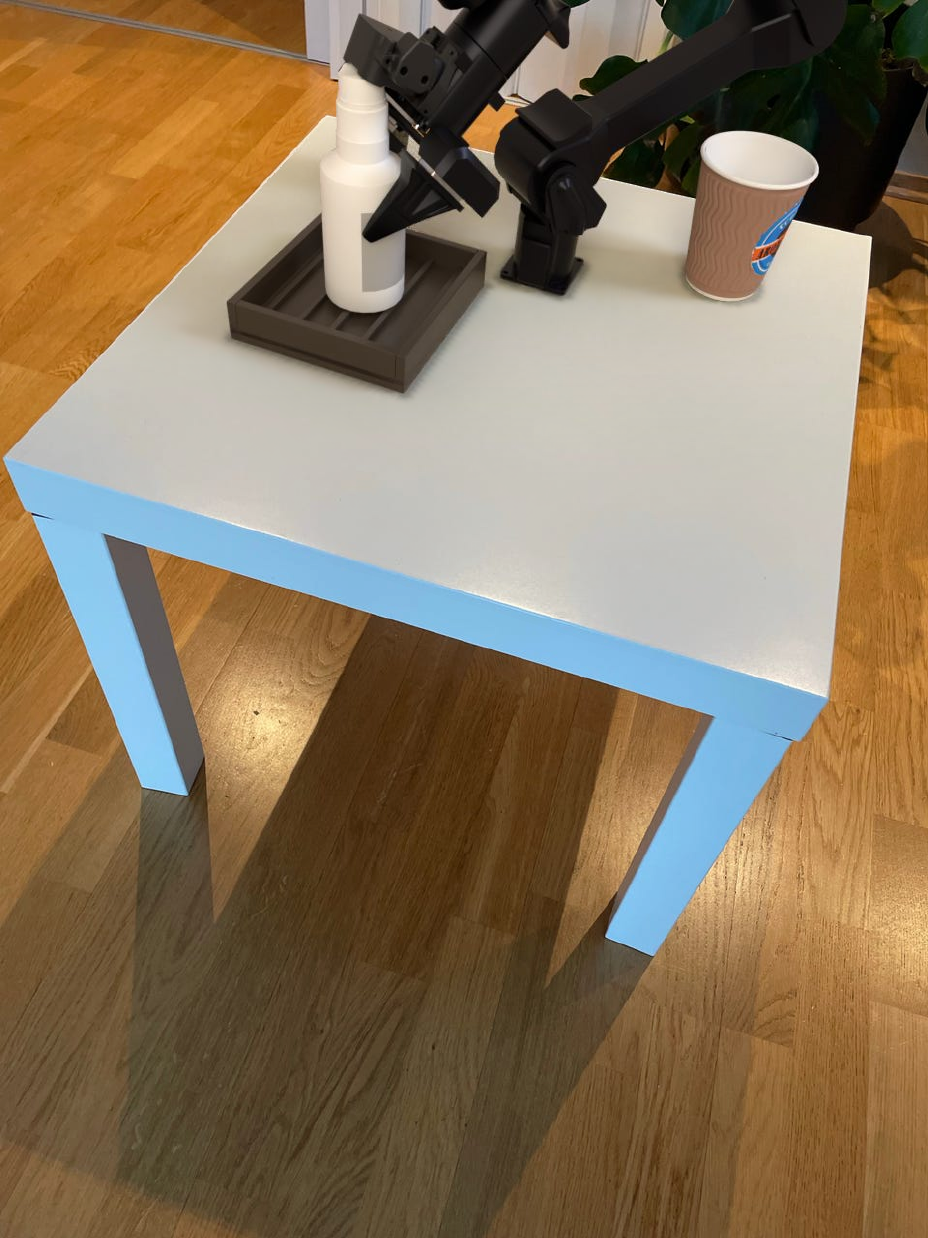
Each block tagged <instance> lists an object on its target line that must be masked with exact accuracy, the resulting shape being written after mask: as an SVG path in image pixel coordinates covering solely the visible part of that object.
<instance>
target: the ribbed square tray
mask: <svg viewBox="0 0 928 1238" xmlns="http://www.w3.org/2000/svg"><path fill="white" fill-rule="evenodd" d="M487 258H488V251H487V250H484V249H479V248H476V247H473V246H469V245H466V244H462V243H458V242H455V241H452V240H448V239H445V238H441V237H438V236H434V235H431V234H427V233H425V232H424V233H423V232H420V231H417V230H413V229H409V228H405V273H404V292H403V295H402V298H401V300H400V301H399V302H398V303H397V304H396V305H395V306H393V307H391V308H389V309H387V310H384V311H379V312H375V313H359V312H353V311H349V310H346V309H343V308H340V307H339V306H337V305H336V304H334V303H333V302H332V301H331V300H330V298H329V297H328V295H327V294H326V288H325V271H324V251H323V231H322V211H320V213H319V214H318V215H317V216H316V217H315V218H314V219H313V220H311V222H309V223H308V224H307V225H306V226H305V227H304V228H303V229H302V230H301V231H300V232H298V234H297V235H295V236H294V237H293V239H291V240H290V241H289V242H288V243H287V244H286V245H285V246H284V247H283V248H282V249H280V251H278V253H277V254H275V255H274V257H272V258H271V259H270V260H269V261H268V262H267V263H266V264H265V265H263V267H262V268H260V269H259V270H258V271H257V272H256V273H255V274H254V275H253V276H252V277H251V278H250V279H248V281H246V282H245V284H243V285H242V287H240V288H239V289H238V290H237V291H236V292H235V293H234V294H233V295H232V296H231V297H230V298H229V299H227V300H226V309H227V310H226V311H227V317H228V323H229V331H230V338H231V339H233V340H235V341H239V342H241V343H245V344H248V345H252V346H255V347H257V348H260V349H264V350H267V351H270V352H273V353H277V354H280V355H282V356H286V357H289V358H291V359H294V360H298V361H300V362H305V363H307V364H310V365H313V366H317V367H320V368H323V369H326V370H330V371H333V372H335V373H339V374H341V375H345V376H348V377H351V378H354V379H357V380H361V381H364V382H367V383H370V384H373V385H376V386H379V387H382V388H385V389H389V390H392V391H393V392H394V391H395V392H398V393H401V394H405V393H406V391H407V390H408V388H409V387H410V386H411V384H412V383H413V382H414V381H415V379H416V378H417V376H418V375H419V373H421V371H422V370H423V368H424V367H425V365H426V364H427V363H428V361H430V359H431V357H432V356H433V355H434V353H436V351H437V349H439V347H440V345H441V344H442V343H443V341H444V340H445V339H446V338H447V336H448V335H449V334H450V332H452V330H453V328H454V327H455V325H456V324H457V323H458V322H459V320H460V318H461V317H462V316H463V315H464V314H465V312H466V311H467V309H468V308H469V307H470V306H471V304H472V303H473V302H474V300H475V299H476V297H477V296H478V295H479V293H480V292H481V291H482V289H483V288H484V287H485V278H486V277H485V276H486V266H487Z"/></svg>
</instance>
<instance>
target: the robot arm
mask: <svg viewBox="0 0 928 1238" xmlns="http://www.w3.org/2000/svg"><path fill="white" fill-rule="evenodd" d="M436 1H437V2H438V3H439V4H440V6H441V7H442V8H443V9H444V10H448V11H459V10H460V11H459V12H458V13H457V15H456V16H455V17H454V19H453V20H452V22H450V24H449V25H448V26H447V28H446V29H445V30H444V32H442V30H440V29H439V28H438V27H437V26H435V25H433V26H432V27H427V28H426V30H424V32H423V33H422V35H421V36H420V37H417V36H416V35H414V34H413V33H412V32H411V31H407V32H403V31H401V30H399V29H397V28H395V27H393V26H390V25H388V24H386V23H384V22H382V21H380V20H378V19H375V18H373V17H370V16H368V15H366V14H364V13H359V12H358V14H357V17H356V19H355V22H354V25H353V28H352V31H351V34H350V36H349V40H348V43H347V45H346V48H345V51H344V53H343V57H342V59H343V61H344V63H346V62H347V63H351V64H352V65H353V66H354V67H355V68H356V69H357V73H358V75H359V76H360V77H361V78H363V79H364V80H366V81H367V82H369V83H371V84H373V85H375V86H378V87H380V88H382V87H384V86H385V94H386V100H387V101H388V131H389V150H390V151H392V152H394V153H396V154H398V153H400V152H401V151H402V152H401V168H400V175H399V177H398V179H397V180H396V182H395V183H394V185H393V186H392V188H391V189H390V191H389V192H388V193H387V195H386V196H385V198H384V199H383V201H382V202H381V204H380V205H379V206H378V208H377V209H376V211H375V212H374V214H373V215H372V217H371V218H370V220H369V221H368V223H367V225H366V227H365V228H364V230H363V232H362V236H363V237H364V238H365V239H366V240H367V241H368V242H370V243H374V242H376V241H378V240H380V239H382V238H385V237H387V236H389V235H391V234H394V233H396V232H398V231H400V230H402V229H405V228H406V229H408V228H409V227H411V226H414V225H415V224H418V223H421V222H423V221H425V220H429V219H431V218H435V217H437V216H440V215H443V214H445V213H449V212H451V211H454V210H456V211H457V212H458V213H461V212H463V211H464V210H465V206H463V204H462V203H461V201H462V200H463V201H464V202H465V204H467V206H469V207H470V208H471V209H472V210H473V211H474V212H475V213H476V214H477V215H478V216H479V217H480V218H481V219H484V217H485V216H486V215H487V214H488V212H489V211H490V210H491V209H492V208H493V207H494V205H495V204H496V203H497V202H498V201H499V199H500V191H501V181H500V180H499V179H498V178H497V176H495V175H494V174H493V172H491V170H490V169H488V167H487V166H486V165H485V164H484V163H483V162H482V161H481V160H480V159H479V158H478V156H477V155H476V154H475V153H474V152H473V151H472V150H471V149H470V148H469V147H470V146H471V144H470V143H468V141H467V140H466V139H465V138H464V137H463V136H464V135H465V133H466V132H467V131H468V130H469V129H470V128H471V126H472V125H473V124H474V123H475V121H477V119H478V118H479V116H480V115H481V114H482V113H483V112H484V111H485V109H486V108H487V107H488V105H489V107H491V108H492V109H493V110H494V111H495V112H496V113H498V112H499V111H500V109H502V107H503V106H504V105H505V104H506V102H507V100H506V99H505V98H504V97H503V96H502V95H501V94H500V91H501V90H502V89H503V87H504V86H505V85H506V83H508V81H509V80H510V78H511V77H512V76H513V75H514V74H515V72H516V71H517V70H518V68H520V66H521V65H522V64H523V63H524V61H526V59H527V58H528V56H529V55H530V54H531V53H532V52H533V50H534V49H535V48H536V47H537V45H538V44H539V43H540V42H541V41H542V39H543V38H544V37H546V38H547V39H548V40H549V41H551V42H553V43H554V44H555V45H556V46H558V47H559V48H560V49H562V50H566V49H568V47H569V45H570V37H571V36H570V33H571V32H570V16H571V13H572V7H571V6H570V5H568V4H567V3H566V2H564V1H563V0H436ZM847 7H848V0H732V1H731V4H730V5H729V7H728V8H727V11H726V13H725V14H724V15H723V16H721V17H720V18H718V19H716V20H714V21H713V22H712V23H710V24H708V25H707V26H705V27H703V28H702V29H700V30H698V31H697V32H695V33H694V34H692V35H690V36H689V37H687V38H685V39H684V40H682V41H680V42H679V43H677V44H675V45H674V46H672V47H671V48H669V49H667V50H666V51H664V52H663V53H661V54H659V55H657V56H656V57H654V58H653V59H651V60H649V61H648V62H646V63H645V64H643V65H641V66H639V67H638V68H636V69H635V70H633V71H631V72H630V73H628V74H627V75H624V76H623V77H621V78H620V79H618V80H616V81H615V82H613V83H612V84H610V85H608V86H607V87H605V88H603V89H602V90H600V91H599V92H597V93H595V94H593V95H592V96H591V97H589V98H586V99H583V100H577V101H576V100H575V101H574V100H573V99H572V98H571V97H569V95H567V94H566V93H564V92H563V91H562V90H561V89H559V87H554V88H552V89H549V90H548V91H546V92H545V93H543V94H542V95H541V96H540V97H539V98H537V99H536V100H535V101H534V102H532V103H530V104H528V105H525V106H522V107H516V108H515V109H514V113H515V114H516V116H515V117H513V118H512V119H511V120H509V121H507V123H505V125H504V126H503V127H502V128H501V129H500V131H499V137H498V140H497V141H496V144H495V147H494V152H493V162H494V168H495V169H496V171H497V174H498V175H499V176H500V177H501V178H502V179H503V180H504V182H505V187H506V190H507V193H509V194H510V195H513V196H514V197H515V198H516V199H517V200H518V201H519V202H520V204H519V211H518V221H517V227H516V236H515V243H514V252H513V253H512V255H511V256H510V257H509V259H508V260H507V262H506V263H505V264H504V266H503V267H502V268H501V269H500V271H499V277H500V279H502V280H505V281H510V282H513V283H515V284H520V285H523V286H526V287H529V288H533V289H536V290H540V291H544V292H547V293H551V294H554V295H557V296H565V295H566V294H567V292H568V291H569V289H570V287H571V286H572V284H573V282H574V281H575V279H576V278H577V276H578V275H579V273H580V272H581V270H582V269H583V267H584V264H585V263H584V262H585V260H584V259H583V258H581V257H578V256H576V253H577V247H578V242H579V237H580V236H583V235H584V233H585V232H586V231H587V230H591V229H595V228H597V227H598V226H599V224H600V222H601V219H602V218H603V216H604V214H605V212H606V209H607V208H608V204H607V202H606V201H605V200H604V199H603V197H602V196H601V195H600V194H599V193H598V191H597V190H596V189H595V188H594V187H595V186H596V185H597V184H598V182H599V180H600V179H601V177H602V175H603V173H604V171H605V170H606V168H607V166H608V164H609V162H610V160H611V158H612V157H613V156H614V155H615V154H616V153H618V152H619V151H621V150H623V149H624V148H626V147H628V146H629V145H631V144H633V143H635V142H636V141H637V140H639V139H641V138H642V137H644V136H645V135H647V134H649V133H651V132H652V131H653V130H656V129H657V128H659V127H660V126H662V125H664V124H665V123H667V122H669V121H671V120H672V119H673V118H675V117H677V116H678V115H680V114H682V113H684V112H685V111H687V110H688V109H690V108H691V107H693V106H695V105H696V104H698V103H700V102H701V101H703V100H706V98H708V97H710V96H711V95H713V94H714V93H716V92H718V91H719V90H722V88H724V87H726V86H728V85H729V84H730V83H732V82H734V81H735V80H737V79H739V78H741V77H743V76H744V75H745V74H747V73H750V72H753V71H760V70H771V69H782V68H789V67H792V66H794V65H797V64H799V63H801V62H804V61H806V60H809V59H811V58H813V57H816V56H818V55H820V54H821V53H822V52H824V51H825V50H826V49H828V48H829V47H830V46H831V45H832V44H833V43H834V42H835V41H836V38H837V37H838V35H839V34H840V33H841V30H842V28H843V26H844V24H845V21H846V16H847ZM344 63H343V64H342V65H341V66H340V68H339V69H338V70H337V72H338V73H339V71H340V70H341V68H342V66H343V65H344ZM395 129H396V130H397V131H398V132H402V131H406V132H407V133H408V135H409V138H411V140H413V141H414V142H415V143H416V144H417V145H418V146H419V147H418V151H417V152H418V153H417V156H419V157H420V159H419V160H418V159H416V158H415V157H414V156H413V155H412V154H411V153H410V152H409V151H408V149H407V150H406V149H405V148H406V146H405V145H404V144H403V143H402V142H401V141H400V140H399V139H398V138H397V137H396V136H395V135H394V134H393V132H394V131H395Z"/></svg>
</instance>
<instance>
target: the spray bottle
mask: <svg viewBox="0 0 928 1238" xmlns="http://www.w3.org/2000/svg"><path fill="white" fill-rule="evenodd" d="M343 64H344V65H343ZM343 64H342V65H343V66H342V65H341V66H342V68H341V67H340V68H341V70H340V71H339V72H338V74H337V83H338V84H337V85H338V86H337V87H338V91H337V97H336V99H335V114H336V129H335V146H336V147H335V148H332V149H331V150H330V151H328V152H327V153H325V154H324V156H323V157H322V158H321V160H320V162H319V165H318V169H319V170H318V171H319V187H320V188H319V189H320V206H321V209H320V210H321V211H320V212H322V231H323V251H324V271H325V288H326V294H327V295H328V297H329V298H330V300H331V301H332V302H333V303H334V304H336V305H337V306H339V307H340V308H343V309H346V310H349V311H353V312H359V313H375V312H379V311H384V310H387V309H389V308H391V307H393V306H395V305H396V304H397V303H398V302H399V301H400V300H401V298H402V295H403V292H404V273H405V229H402V230H400V231H398V232H396V233H394V234H391V235H389V236H387V237H385V238H382V239H380V240H378V241H376V242H374V243H370V242H368V241H367V240H366V239H365V238H364V237H363V236H362V232H363V230H364V228H365V227H366V225H367V223H368V221H369V220H370V218H371V217H372V215H373V214H374V212H375V211H376V209H377V208H378V206H379V205H380V204H381V202H382V201H383V199H384V198H385V196H386V195H387V193H388V192H389V191H390V189H391V188H392V186H393V185H394V183H395V182H396V180H397V179H398V177H399V175H400V168H401V158H400V157H399V156H398V155H397V154H396V153H394V152H392V151H390V150H389V131H388V101H387V100H386V94H385V86H384V87H382V88H380V87H378V86H375V85H373V84H371V83H369V82H367V81H366V80H364V79H363V78H361V77H360V76H359V75H358V73H357V69H356V68H355V67H354V66H353V65H352V64H351V63H347V62H346V63H343Z"/></svg>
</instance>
